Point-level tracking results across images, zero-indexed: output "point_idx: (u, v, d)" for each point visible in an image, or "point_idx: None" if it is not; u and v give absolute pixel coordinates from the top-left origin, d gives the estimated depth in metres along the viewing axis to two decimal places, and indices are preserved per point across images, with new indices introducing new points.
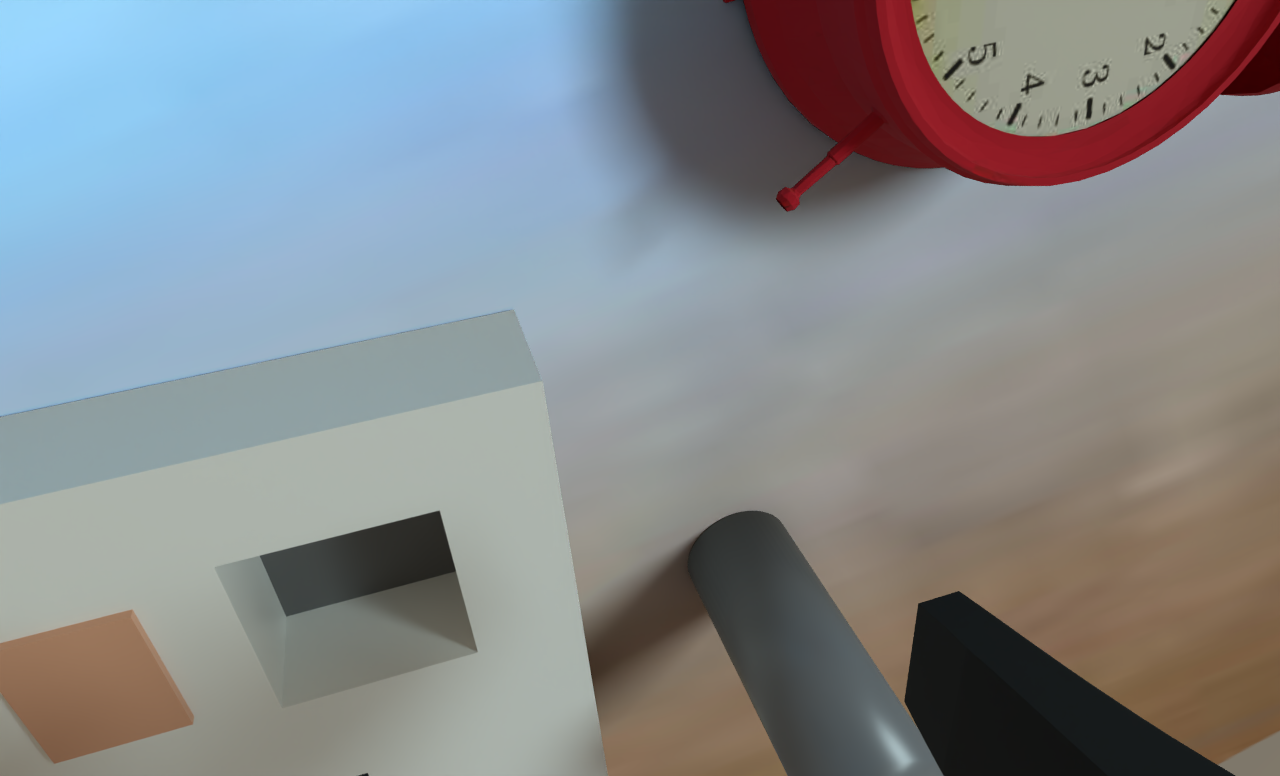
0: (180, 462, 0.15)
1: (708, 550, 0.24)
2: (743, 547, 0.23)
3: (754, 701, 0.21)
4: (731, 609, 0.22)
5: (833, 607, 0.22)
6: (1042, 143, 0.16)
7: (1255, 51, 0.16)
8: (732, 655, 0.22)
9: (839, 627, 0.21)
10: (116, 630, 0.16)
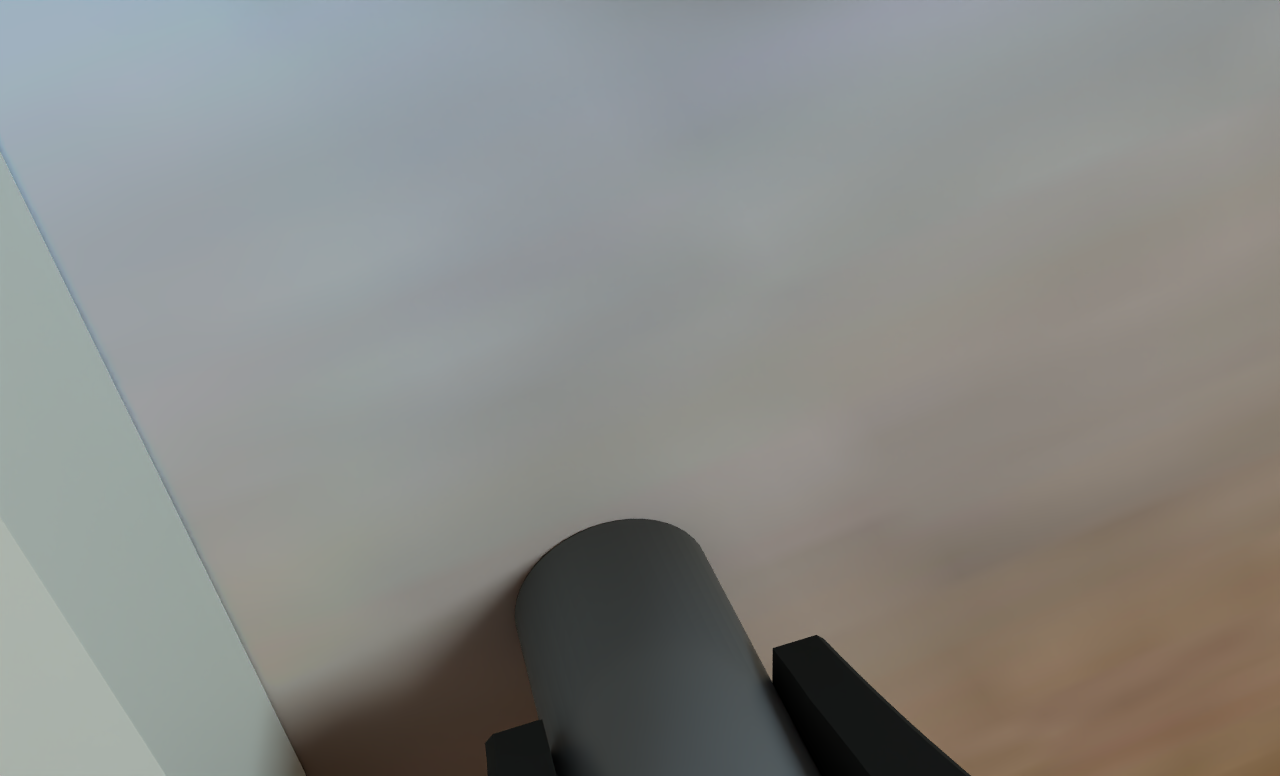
0: None
1: (543, 597, 0.12)
2: (605, 593, 0.11)
3: None
4: (567, 730, 0.10)
5: (780, 730, 0.10)
6: None
7: None
8: None
9: None
10: None
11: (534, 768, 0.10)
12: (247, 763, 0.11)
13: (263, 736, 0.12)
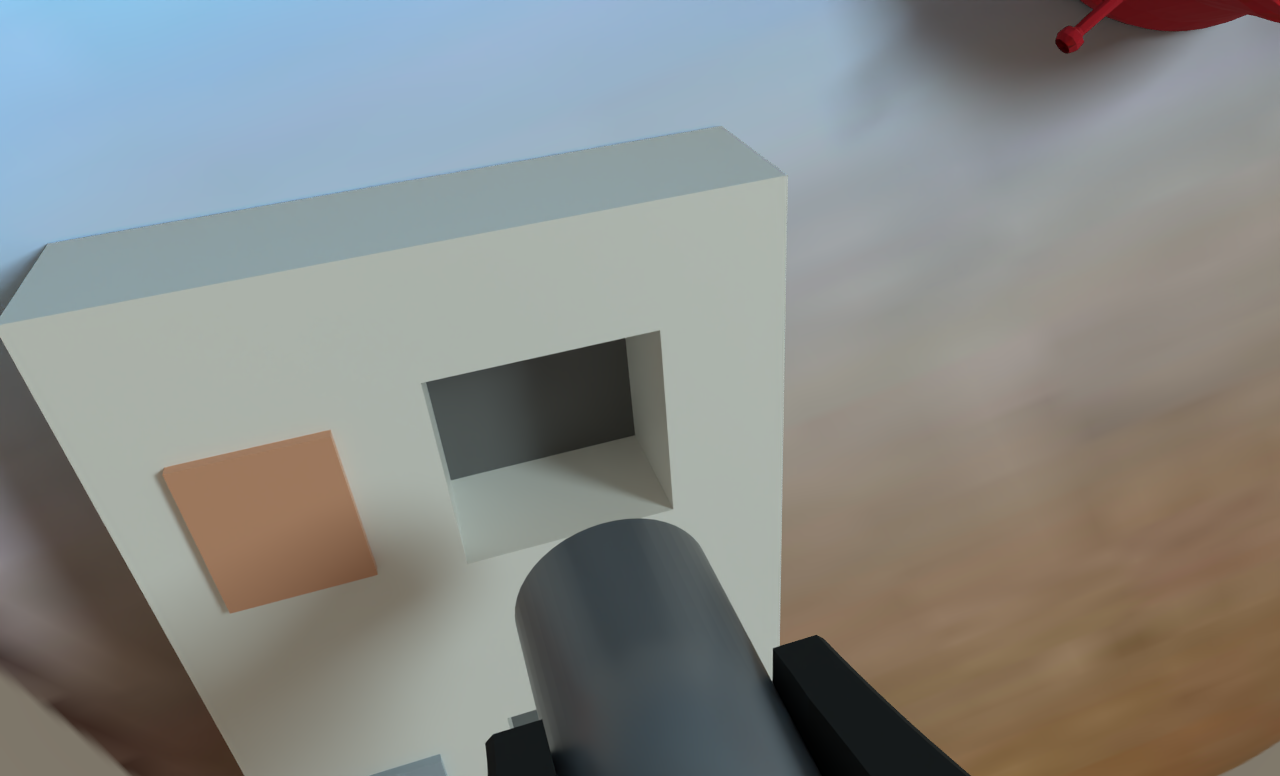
0: (402, 247, 0.13)
1: (541, 598, 0.12)
2: (603, 594, 0.11)
3: None
4: (566, 731, 0.10)
5: (779, 730, 0.10)
6: None
7: None
8: None
9: None
10: (313, 452, 0.15)
11: (534, 768, 0.10)
12: None
13: None
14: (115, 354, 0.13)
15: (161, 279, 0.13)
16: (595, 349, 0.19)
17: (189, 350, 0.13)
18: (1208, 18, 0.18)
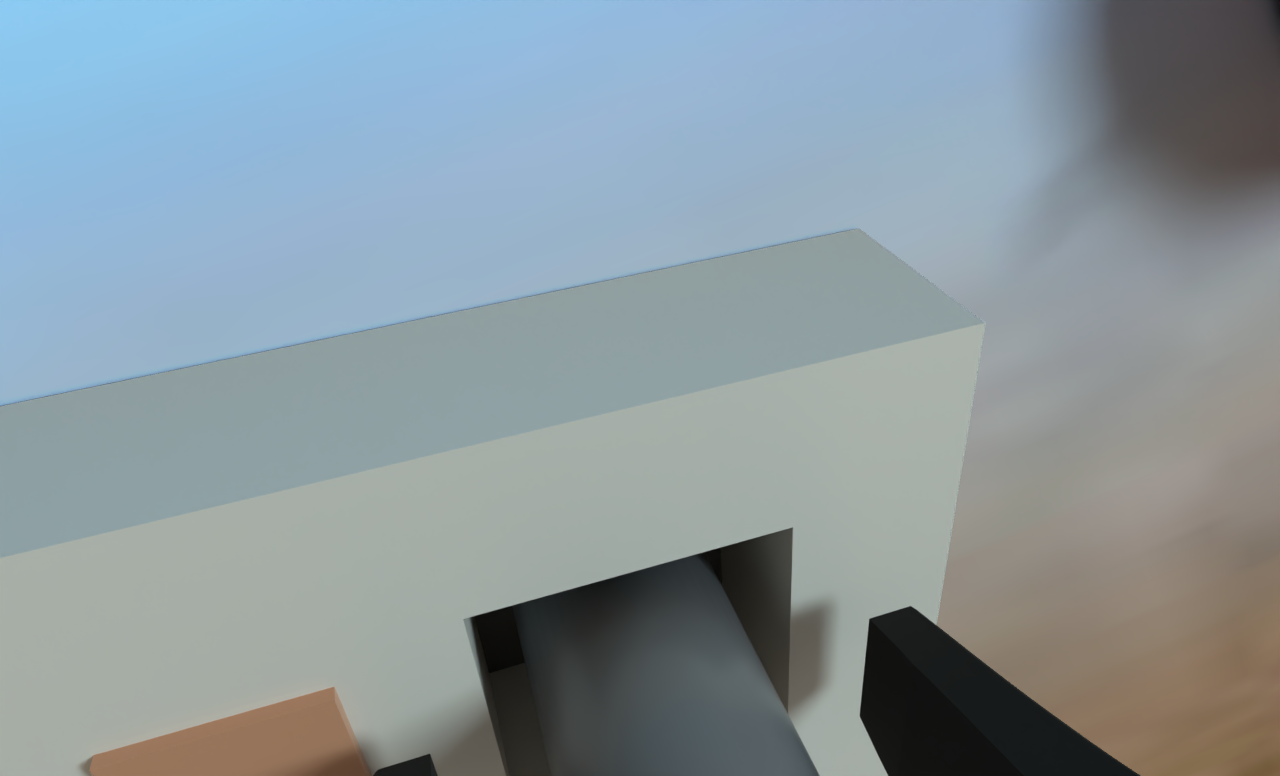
0: (441, 451, 0.09)
1: None
2: None
3: None
4: (546, 659, 0.11)
5: (741, 656, 0.11)
6: None
7: None
8: None
9: (746, 700, 0.10)
10: (310, 721, 0.10)
11: None
12: None
13: None
14: (10, 624, 0.09)
15: (80, 506, 0.09)
16: None
17: (124, 607, 0.09)
18: None
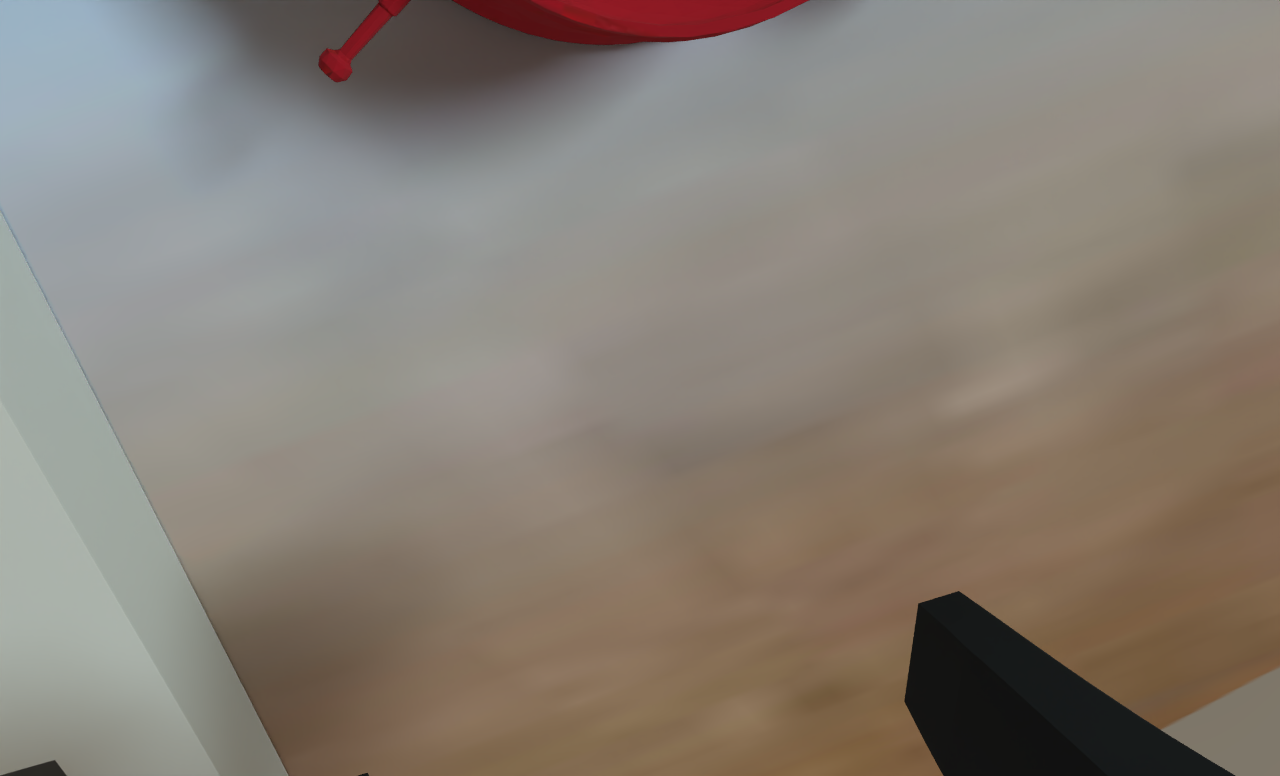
0: None
1: None
2: None
3: None
4: None
5: None
6: None
7: None
8: None
9: None
10: None
11: None
12: (142, 560, 0.17)
13: (158, 552, 0.18)
14: None
15: None
16: None
17: None
18: None
